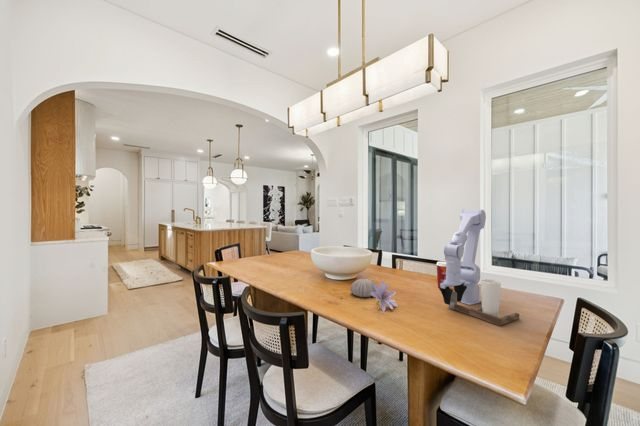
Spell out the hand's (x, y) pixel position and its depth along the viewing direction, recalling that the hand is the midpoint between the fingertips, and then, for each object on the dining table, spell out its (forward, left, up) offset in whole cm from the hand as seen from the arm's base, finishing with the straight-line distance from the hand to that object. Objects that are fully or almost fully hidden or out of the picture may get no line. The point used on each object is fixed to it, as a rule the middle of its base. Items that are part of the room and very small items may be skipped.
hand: (452, 302), depth 119 cm
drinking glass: (-3, +14, -3) cm, 15 cm away
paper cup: (-24, -23, -3) cm, 34 cm away
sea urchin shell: (+23, -34, -3) cm, 41 cm away
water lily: (+26, -15, -3) cm, 30 cm away
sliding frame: (-6, +9, -2) cm, 11 cm away
